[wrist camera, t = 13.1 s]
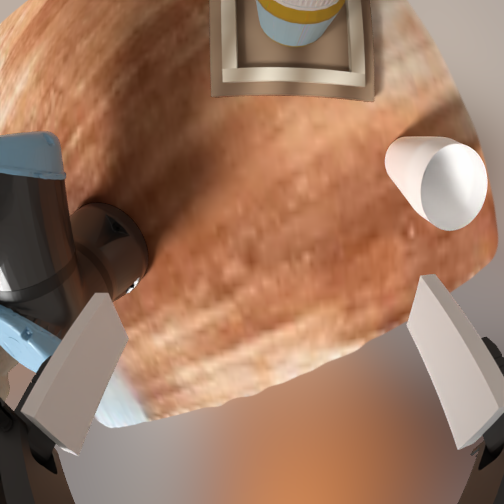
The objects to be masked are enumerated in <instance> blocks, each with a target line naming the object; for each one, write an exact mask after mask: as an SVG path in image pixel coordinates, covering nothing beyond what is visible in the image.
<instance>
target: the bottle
mask: <svg viewBox="0 0 504 504" xmlns="http://www.w3.org/2000/svg"><path fill="white" fill-rule="evenodd" d="M344 3H345V0H256V4H257V10H258V16H259V21H260V25H261V28H262V30H263V31H264V33H265V34H266V35H267V36H268V37H269V38H270V39H271V40H273V41H274V42H276V43H279V44H281V45H284V46H289V47H302V46H306V45H309V44H311V43H313V42H315V41H316V40H317V39H318V38H320V37H321V35H322V34H323V33H324V31H325V30H326V29H327V27H328V26H329V25H330V23H331V22H332V21H333V19H334V18H335V17H336V15H337V14H338V13H339V11H340V10H341V8H342V6H343V4H344Z"/></svg>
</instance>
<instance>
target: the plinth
mask: <svg viewBox="0 0 504 504" xmlns="http://www.w3.org/2000/svg"><path fill="white" fill-rule="evenodd" d="M209 22H210V72H211V97H215V98H216V97H232V96H308V97H325V98H337V99H347V100H356V101H364V102H374V50H373V32H372V20H371V9H370V0H345V3H344V4H343V6H342V8H341V10H340V11H339V13H338V14H337V15H336V17H335V18H334V19H333V21H332V22H331V23H330V25H329V26H328V27H327V29H326V30H325V31H324V33H323V34H322V35H321V37H320V38H318V39H317V40H316V41H315V42H313V43H311V44H309V45H306V46H302V47H289V46H284V45H281V44H279V43H276V42H274V41H273V40H271V39H270V38H269V37H268V36H267V35H266V34H265V33H264V31H263V30H262V28H261V25H260V21H259V16H258V10H257V4H256V0H209Z"/></svg>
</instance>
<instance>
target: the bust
mask: <svg viewBox="0 0 504 504" xmlns="http://www.w3.org/2000/svg"><path fill="white" fill-rule="evenodd" d="M18 363H19V362H18V361H17V360H16V359H14V358H13V357H12V356H11V355H10V354H9V353H7V352H6V351H5V350H4V349H3V348H2V347H1V345H0V397H1V398H2V400H3V401H4V402H5V400H6V398H7V396H8V394H9V390H10V387H9V381H8V372H9V371H10V370H11V369H12V368H13V367H14V366H16V365H17V364H18Z"/></svg>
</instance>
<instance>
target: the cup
mask: <svg viewBox="0 0 504 504" xmlns="http://www.w3.org/2000/svg"><path fill="white" fill-rule="evenodd" d="M385 167H386V171H387V173H388V175H389V177H390V178H391V179H392V181H393V182H394V183H395V184H396V186H397V187H398V188H399V190H400V191H401V192H402V194H403V195H404V196H405V198H406V199H407V200H408V202H409V203H410V204H411V206H412V207H413V208H414V210H415V211H416V212H417V213H418V214H419V215H421V216H422V217H423V218H425V219H426V220H428V221H429V222H431V223H432V224H433V225H435V226H436V227H438V228H440V229H442V230H447V231H452V230H457V229H460V228H462V227H464V226H466V225H467V224H469V223H470V222H471V221H472V220H473V219H474V218H475V217H476V216H477V214H478V213H479V211H480V209H481V208H482V205H483V203H484V200H485V197H486V192H487V174H486V169H485V166H484V163H483V161H482V159H481V158H480V156H479V155H478V154H477V153H476V152H475V151H474V150H473V149H472V148H470V147H469V146H467V145H464V144H462V143H459V142H457V141H455V140H453V139H451V138H447V137H435V136H411V137H401V138H398V139H396V140H395V141H394V142H393V143H392V144H391V145H390V146H389V148H388V150H387V152H386V156H385Z"/></svg>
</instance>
